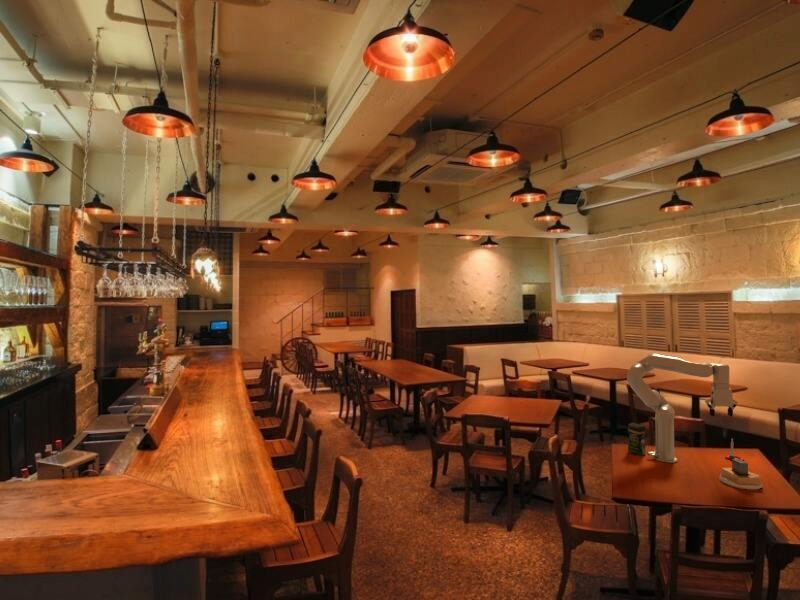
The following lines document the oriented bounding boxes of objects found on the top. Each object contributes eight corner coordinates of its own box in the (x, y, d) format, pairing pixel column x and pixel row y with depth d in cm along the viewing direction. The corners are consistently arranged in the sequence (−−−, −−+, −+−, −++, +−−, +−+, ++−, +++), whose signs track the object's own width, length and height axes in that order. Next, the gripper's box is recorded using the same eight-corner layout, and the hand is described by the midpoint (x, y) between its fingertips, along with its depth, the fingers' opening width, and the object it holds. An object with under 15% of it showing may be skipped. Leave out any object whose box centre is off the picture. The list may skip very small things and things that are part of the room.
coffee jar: (625, 452, 286) (625, 422, 286) (633, 450, 290) (633, 421, 290) (640, 456, 278) (639, 426, 278) (648, 454, 281) (647, 424, 281)
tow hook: (730, 456, 279) (723, 458, 274) (731, 435, 279) (723, 436, 274) (746, 460, 272) (739, 462, 267) (747, 438, 272) (739, 440, 267)
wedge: (740, 482, 235) (740, 463, 235) (732, 477, 241) (732, 459, 241) (748, 482, 235) (748, 463, 235) (740, 477, 241) (739, 459, 241)
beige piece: (734, 490, 230) (734, 479, 230) (711, 475, 248) (711, 465, 248) (771, 490, 229) (771, 479, 229) (745, 476, 247) (745, 466, 247)
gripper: (709, 387, 254) (709, 417, 254) (741, 387, 253) (741, 417, 253) (701, 384, 262) (701, 414, 262) (732, 384, 261) (732, 414, 261)
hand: (721, 415), depth 258 cm, fingers open, 9 cm apart
